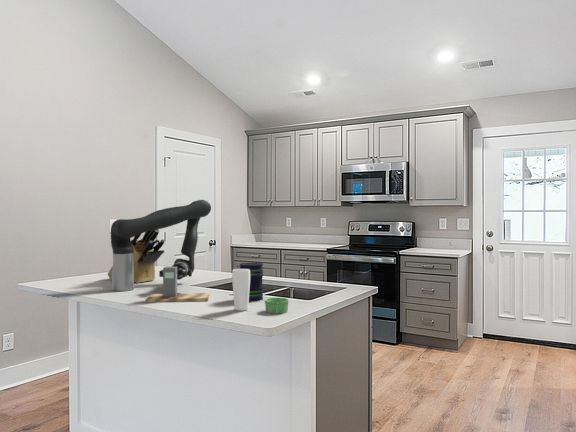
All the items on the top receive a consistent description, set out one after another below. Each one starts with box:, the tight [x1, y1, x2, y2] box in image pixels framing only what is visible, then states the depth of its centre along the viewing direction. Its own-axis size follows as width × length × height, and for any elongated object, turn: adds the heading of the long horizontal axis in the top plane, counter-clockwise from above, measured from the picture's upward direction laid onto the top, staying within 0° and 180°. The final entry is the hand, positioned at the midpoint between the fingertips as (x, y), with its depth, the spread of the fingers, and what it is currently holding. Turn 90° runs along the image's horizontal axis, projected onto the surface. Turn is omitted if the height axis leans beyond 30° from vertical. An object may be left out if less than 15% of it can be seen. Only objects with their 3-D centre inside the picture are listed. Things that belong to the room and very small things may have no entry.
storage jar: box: [239, 262, 264, 302], centre depth 192 cm, size 10×10×15 cm
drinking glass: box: [231, 268, 250, 312], centre depth 171 cm, size 7×7×15 cm
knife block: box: [107, 229, 166, 284], centre depth 243 cm, size 11×35×31 cm, turn 56°
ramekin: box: [264, 297, 290, 314], centre depth 169 cm, size 9×9×4 cm
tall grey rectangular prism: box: [162, 266, 178, 297], centre depth 192 cm, size 5×5×12 cm
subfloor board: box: [145, 292, 211, 303], centre depth 193 cm, size 25×12×1 cm, turn 95°
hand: (173, 275), depth 202 cm, fingers open, 8 cm apart
